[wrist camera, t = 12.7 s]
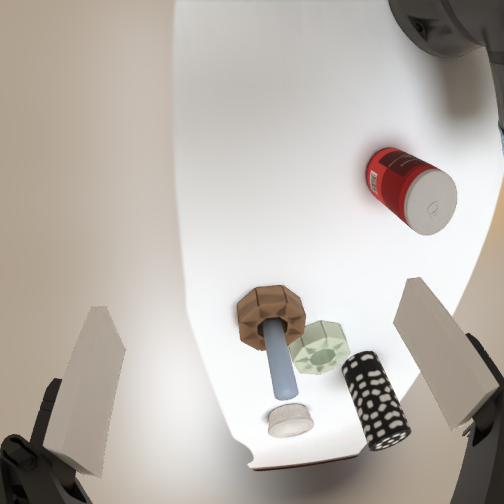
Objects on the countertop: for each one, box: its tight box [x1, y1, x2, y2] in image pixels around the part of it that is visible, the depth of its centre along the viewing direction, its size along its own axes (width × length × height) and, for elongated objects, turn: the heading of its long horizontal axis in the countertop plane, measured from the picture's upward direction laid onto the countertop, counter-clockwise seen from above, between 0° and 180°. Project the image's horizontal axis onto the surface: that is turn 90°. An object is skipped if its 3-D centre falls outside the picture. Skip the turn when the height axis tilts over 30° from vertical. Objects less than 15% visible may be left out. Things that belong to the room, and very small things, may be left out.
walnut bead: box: [237, 285, 306, 351], centre depth 46 cm, size 10×10×4 cm
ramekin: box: [268, 404, 314, 438], centre depth 65 cm, size 11×11×5 cm
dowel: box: [262, 317, 298, 400], centre depth 41 cm, size 3×3×16 cm
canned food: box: [366, 148, 457, 235], centre depth 33 cm, size 8×8×11 cm
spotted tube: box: [342, 351, 411, 451], centre depth 50 cm, size 8×8×20 cm
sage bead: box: [289, 321, 351, 375], centre depth 51 cm, size 10×10×4 cm
